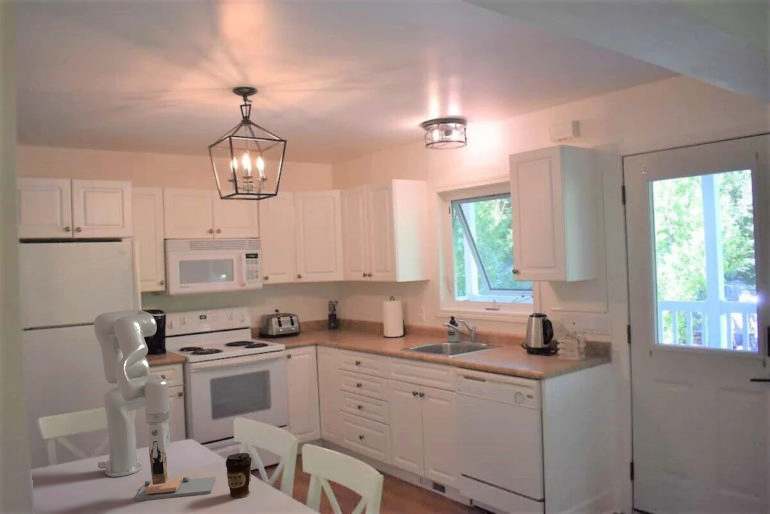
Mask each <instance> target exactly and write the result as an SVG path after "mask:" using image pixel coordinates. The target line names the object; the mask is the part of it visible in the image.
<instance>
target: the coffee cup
mask: <svg viewBox="0 0 770 514" xmlns="http://www.w3.org/2000/svg"><path fill="white" fill-rule="evenodd" d="M250 455H251V454H250V453H247V452H237V453H234V454H229V455H228V456H227V458H226V460H225V468H226V478H227V486H228V487H229V488H228V489H229V497H230V498H234V499H236V498H237V499H238V498H245V497H248V496H250V494H251V491H250V483H251V477H252V470H251V465H252V459H253V458H252V457H251V456H250Z"/></svg>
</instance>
